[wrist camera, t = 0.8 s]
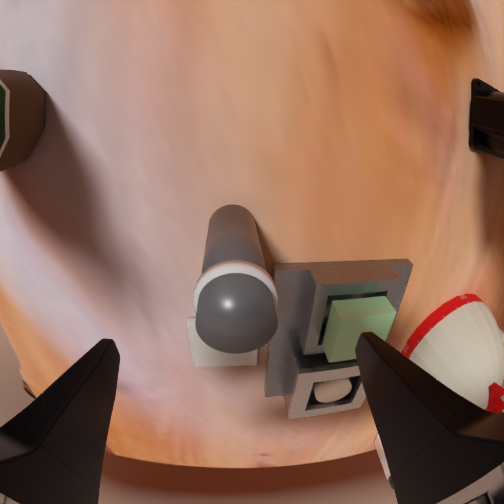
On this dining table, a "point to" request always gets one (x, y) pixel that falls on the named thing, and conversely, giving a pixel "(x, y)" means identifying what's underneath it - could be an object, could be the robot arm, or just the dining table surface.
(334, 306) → the on button
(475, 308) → the kitchen timer
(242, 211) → the gray capped cylinder
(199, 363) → the pad
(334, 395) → the button
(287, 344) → the grey flat framed piece
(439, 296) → the dining table surface
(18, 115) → the beer bottle
